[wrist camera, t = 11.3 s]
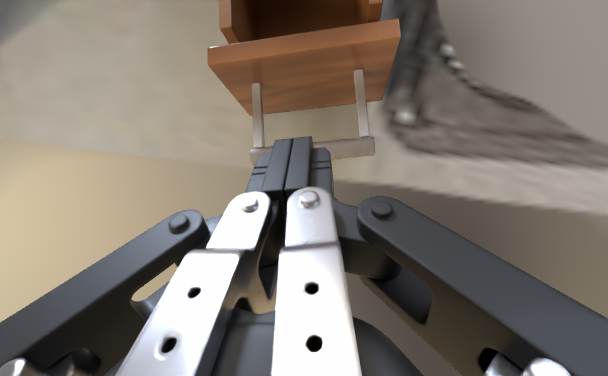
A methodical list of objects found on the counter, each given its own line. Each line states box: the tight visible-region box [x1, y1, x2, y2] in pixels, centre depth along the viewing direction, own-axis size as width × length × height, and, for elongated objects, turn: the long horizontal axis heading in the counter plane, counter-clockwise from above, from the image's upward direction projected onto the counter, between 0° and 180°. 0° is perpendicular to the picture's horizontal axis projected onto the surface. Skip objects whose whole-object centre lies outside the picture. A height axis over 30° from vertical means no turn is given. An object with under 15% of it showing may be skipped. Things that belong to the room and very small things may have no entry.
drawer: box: [208, 0, 401, 166], centre depth 20 cm, size 19×11×8 cm, turn 3°
